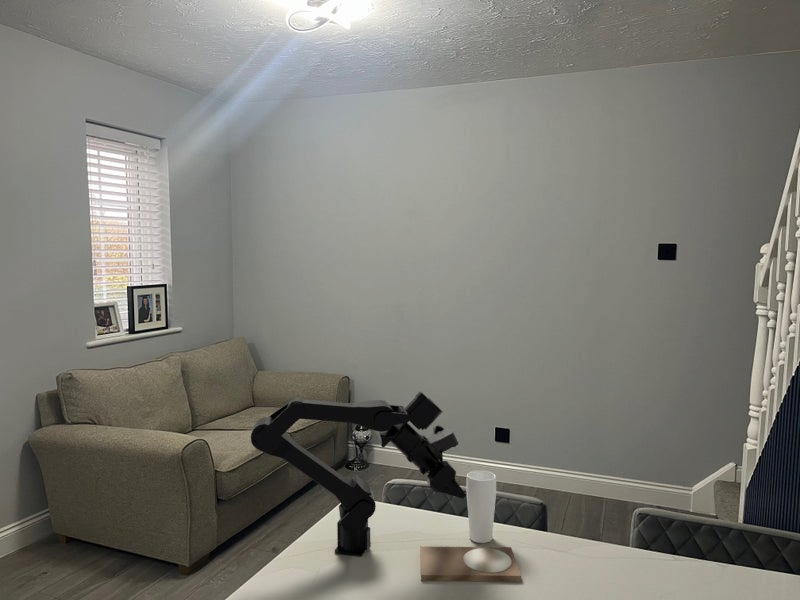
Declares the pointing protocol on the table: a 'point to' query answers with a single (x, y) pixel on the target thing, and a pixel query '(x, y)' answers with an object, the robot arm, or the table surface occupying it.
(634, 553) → the table surface
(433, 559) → the walnut board
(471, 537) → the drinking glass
